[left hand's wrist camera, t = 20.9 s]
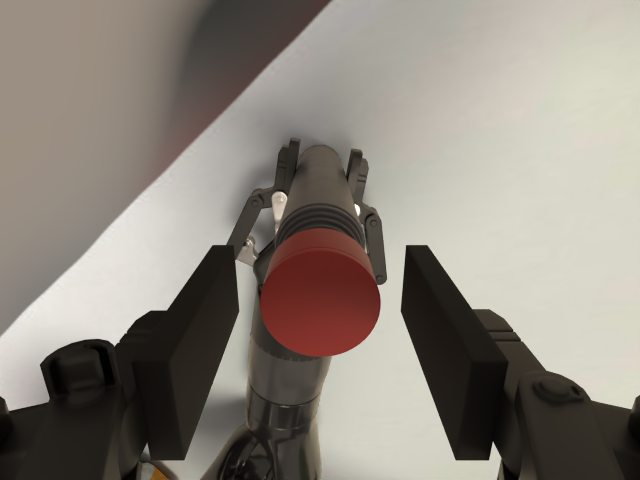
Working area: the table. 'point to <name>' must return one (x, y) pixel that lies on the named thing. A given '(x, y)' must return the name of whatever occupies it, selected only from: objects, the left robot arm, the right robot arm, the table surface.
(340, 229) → the bottle
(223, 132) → the table surface
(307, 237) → the cap
